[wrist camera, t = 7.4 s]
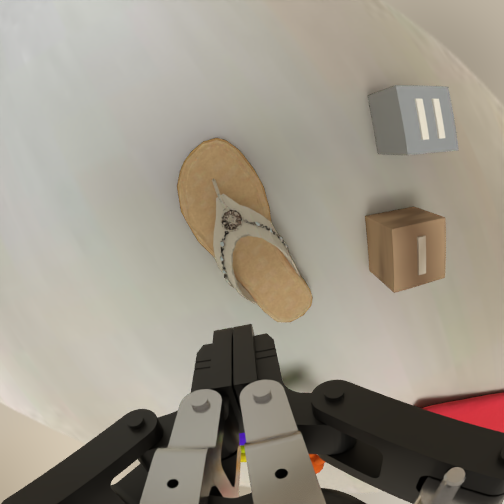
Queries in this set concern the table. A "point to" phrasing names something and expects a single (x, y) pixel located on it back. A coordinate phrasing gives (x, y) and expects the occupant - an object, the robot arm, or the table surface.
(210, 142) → the sandal
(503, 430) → the dish drying mat
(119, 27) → the table surface
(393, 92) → the slate block
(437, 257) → the walnut block
